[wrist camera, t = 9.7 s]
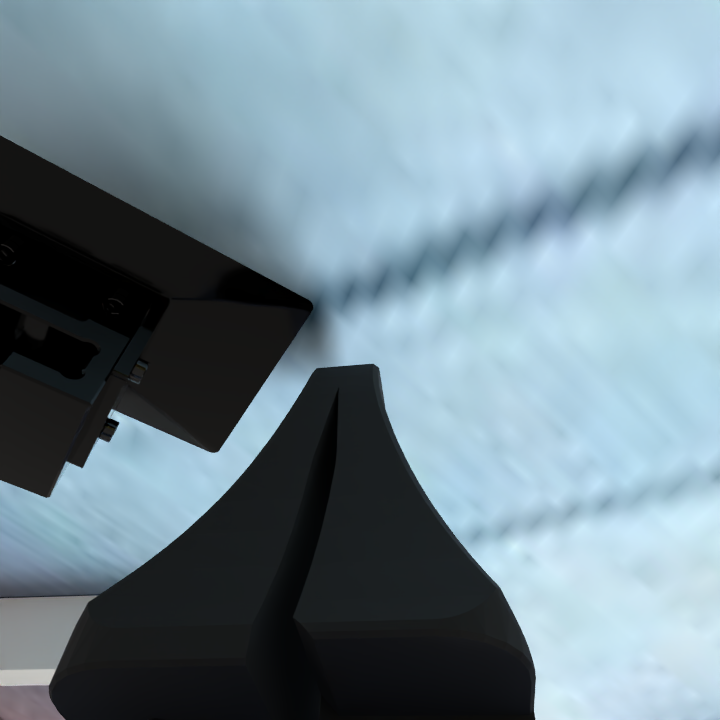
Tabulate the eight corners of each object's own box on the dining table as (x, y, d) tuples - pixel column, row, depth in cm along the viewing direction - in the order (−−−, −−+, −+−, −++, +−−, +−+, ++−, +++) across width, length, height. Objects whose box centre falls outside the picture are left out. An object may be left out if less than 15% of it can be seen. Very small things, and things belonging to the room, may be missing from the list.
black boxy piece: (386, 295, 14) (384, 438, 10) (251, 476, 18) (213, 627, 14) (-221, -43, 11) (-552, -8, 7) (-227, 273, 14) (-440, 403, 11)
